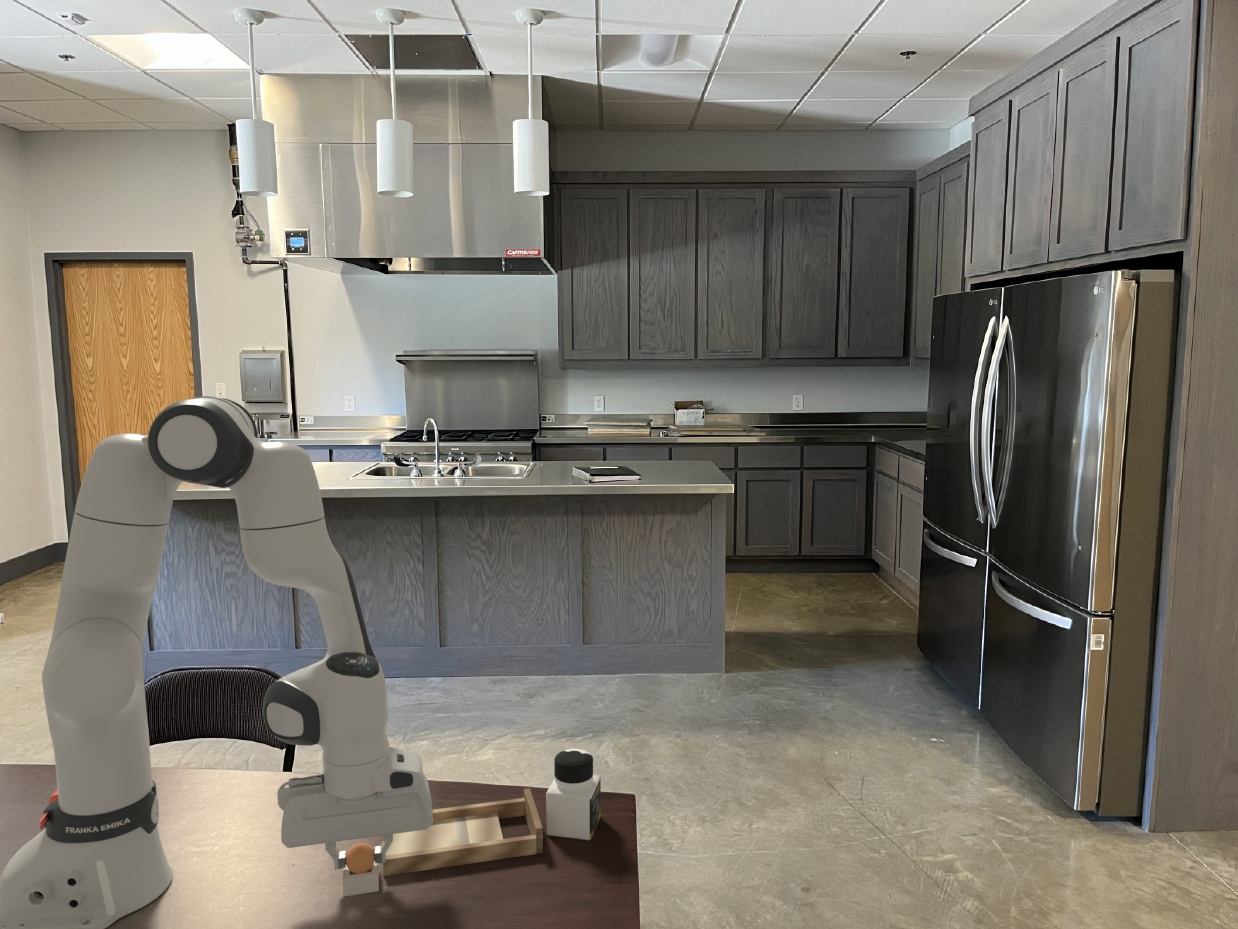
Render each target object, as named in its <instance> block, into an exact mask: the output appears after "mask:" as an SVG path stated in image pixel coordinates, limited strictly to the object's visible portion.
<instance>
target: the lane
mask: <svg viewBox="0 0 1238 929" xmlns="http://www.w3.org/2000/svg"><path fill="white" fill-rule="evenodd" d="M432 810H433V823H432V824H431V826H430V827H429V828H428V829H426V830H419V831H412V832H404V833H397V834H393V841H392V843H391V845H390V846H389V848H388V850H387V851H386V862H385V863H382V868H383V872H382V873H383V877H389V876H395V875H401V874H408V873H415V872H421V871H428V870H436V869H442V868H450V867H455V866H456V867H458V866H463V865H470V864H477V863H483V862H491V861H497V860H503V859H510V858H516V857H524V856H532V855H536V854H537V855H538V854H543V853H544V839H543V838H544V834H543V833H544V827H543V825H542V822H541V818H540V815H539V811H538V810H537V806H536V803H535V800H534V796H533V795H532V791H531V788H529V787H528V788H524V789H523V797H520V798H513V799H512V798H511V799H506V800H504V799H503V800H497V801H495V800H494V801H490V802H481V803H475V804H474V803H472V804H466V805H457V806H450V807H444V808H442V807H441V808H435V809H432ZM522 816H524V818H525V820H526V823H527V827H528V831H529V835H525V836H524V835H523V836H515V837H510V838H509V837H508V838H504V837H503V836H504V835H503V832H502V828H501V825H500V819H501V820H502V819H508V818H514V817H515V818H516V817H522Z"/></svg>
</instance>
